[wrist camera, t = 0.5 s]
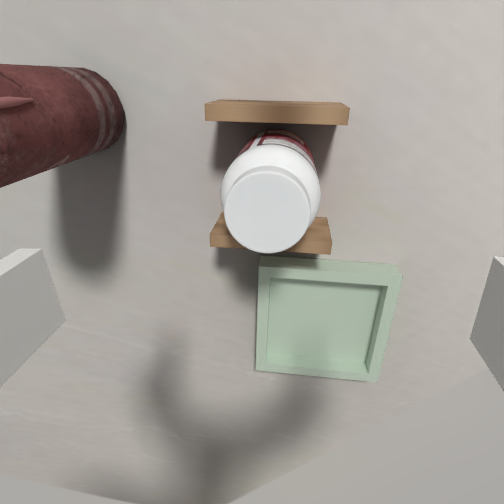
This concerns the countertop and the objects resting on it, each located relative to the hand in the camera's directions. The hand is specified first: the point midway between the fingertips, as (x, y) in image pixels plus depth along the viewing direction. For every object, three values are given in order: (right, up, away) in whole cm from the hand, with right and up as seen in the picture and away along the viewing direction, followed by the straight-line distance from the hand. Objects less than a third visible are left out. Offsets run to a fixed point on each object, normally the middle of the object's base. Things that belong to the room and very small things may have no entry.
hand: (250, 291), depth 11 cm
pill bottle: (+2, +8, +18) cm, 20 cm away
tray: (+7, -5, +24) cm, 25 cm away
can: (-13, +13, +18) cm, 25 cm away
